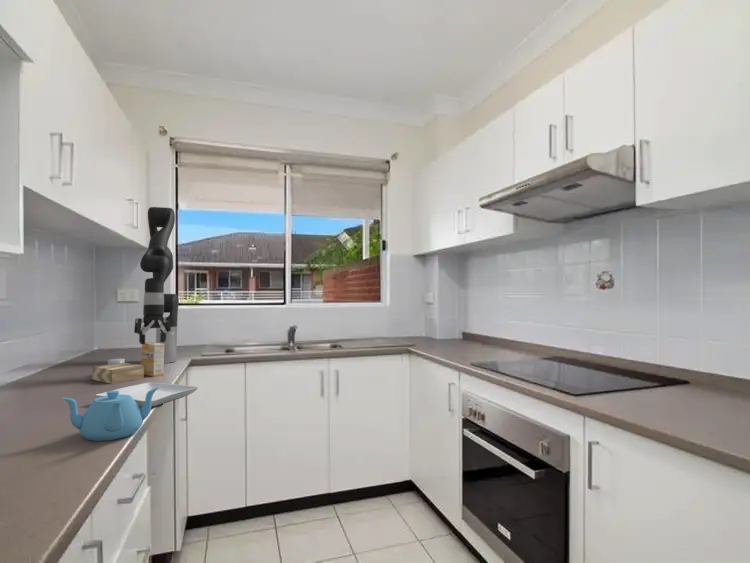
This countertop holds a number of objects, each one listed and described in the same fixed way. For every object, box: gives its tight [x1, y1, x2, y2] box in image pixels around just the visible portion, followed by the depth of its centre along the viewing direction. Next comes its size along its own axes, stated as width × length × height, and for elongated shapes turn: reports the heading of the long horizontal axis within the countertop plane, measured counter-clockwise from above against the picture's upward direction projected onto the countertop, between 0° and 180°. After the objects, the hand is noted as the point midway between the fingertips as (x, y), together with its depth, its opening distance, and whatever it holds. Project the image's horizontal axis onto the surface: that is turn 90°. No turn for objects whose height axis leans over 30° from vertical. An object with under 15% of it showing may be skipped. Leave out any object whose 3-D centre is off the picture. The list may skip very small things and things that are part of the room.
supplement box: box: [140, 341, 165, 378], centre depth 176 cm, size 8×5×13 cm, turn 62°
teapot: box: [61, 387, 159, 442], centre depth 103 cm, size 15×15×10 cm
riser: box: [91, 362, 145, 385], centre depth 167 cm, size 14×12×5 cm
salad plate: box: [95, 382, 198, 408], centre depth 136 cm, size 21×21×3 cm
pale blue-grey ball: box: [107, 358, 126, 365], centre depth 177 cm, size 6×6×6 cm
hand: (152, 343), depth 176 cm, fingers open, 8 cm apart
